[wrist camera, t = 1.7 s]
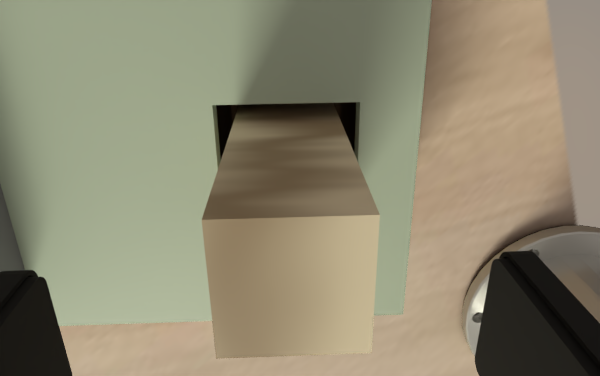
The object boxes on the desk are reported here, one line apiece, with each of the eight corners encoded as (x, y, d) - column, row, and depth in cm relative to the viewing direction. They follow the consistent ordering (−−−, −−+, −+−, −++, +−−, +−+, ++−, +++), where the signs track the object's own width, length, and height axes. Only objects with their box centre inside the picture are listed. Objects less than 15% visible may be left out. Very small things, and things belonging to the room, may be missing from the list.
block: (329, 95, 22) (379, 215, 11) (328, 176, 23) (371, 353, 12) (241, 96, 22) (201, 219, 11) (246, 178, 23) (216, 358, 12)
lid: (426, -28, 17) (466, -29, 13) (397, 300, 23) (420, 363, 19) (-344, -18, 16) (-527, -16, 12) (-174, 319, 22) (-265, 388, 18)
